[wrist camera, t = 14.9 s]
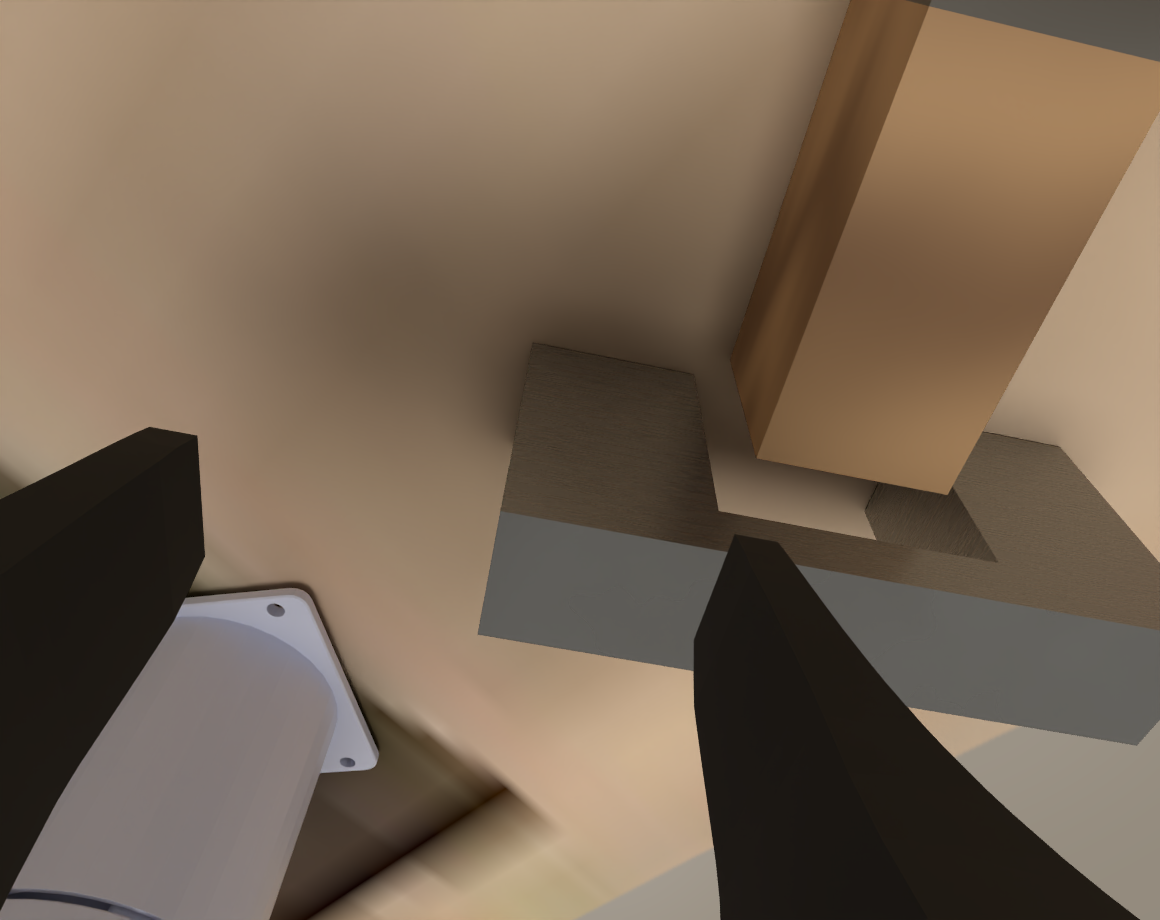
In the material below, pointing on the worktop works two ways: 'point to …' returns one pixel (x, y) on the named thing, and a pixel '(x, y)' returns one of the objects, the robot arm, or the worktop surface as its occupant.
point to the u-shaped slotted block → (826, 559)
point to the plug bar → (936, 224)
